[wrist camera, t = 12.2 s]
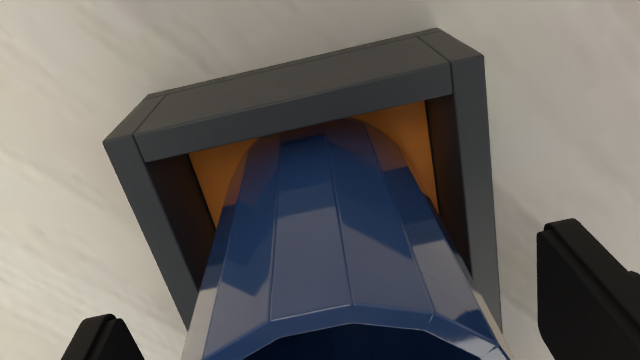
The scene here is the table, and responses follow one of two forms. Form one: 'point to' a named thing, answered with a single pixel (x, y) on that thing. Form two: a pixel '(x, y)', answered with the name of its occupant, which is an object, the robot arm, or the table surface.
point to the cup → (335, 259)
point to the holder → (306, 110)
